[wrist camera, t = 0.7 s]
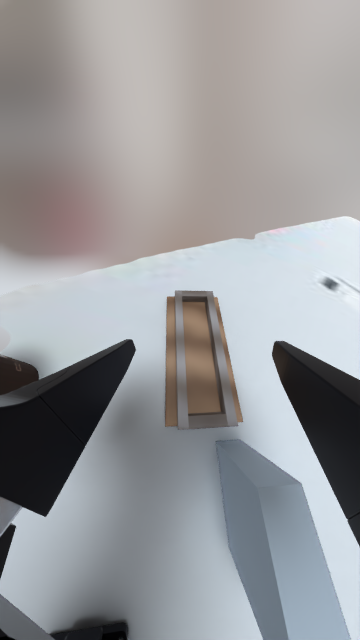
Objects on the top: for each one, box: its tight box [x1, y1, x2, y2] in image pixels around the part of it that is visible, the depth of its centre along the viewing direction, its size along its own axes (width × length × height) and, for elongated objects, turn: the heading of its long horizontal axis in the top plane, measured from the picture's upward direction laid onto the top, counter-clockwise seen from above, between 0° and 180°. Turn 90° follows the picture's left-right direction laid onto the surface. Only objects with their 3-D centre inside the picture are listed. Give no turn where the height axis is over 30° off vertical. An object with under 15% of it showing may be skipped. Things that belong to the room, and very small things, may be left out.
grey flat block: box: [216, 440, 351, 640], centre depth 11 cm, size 8×3×9 cm, turn 2°
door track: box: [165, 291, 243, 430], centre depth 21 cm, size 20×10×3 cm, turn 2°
